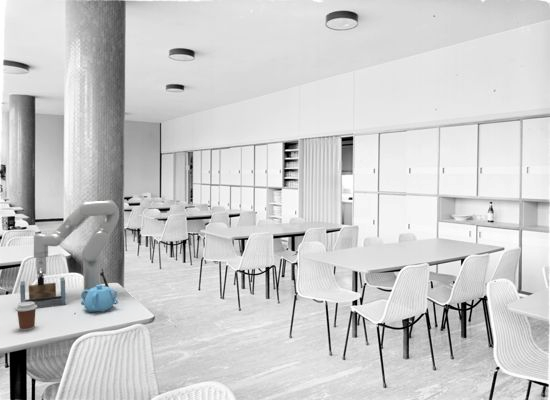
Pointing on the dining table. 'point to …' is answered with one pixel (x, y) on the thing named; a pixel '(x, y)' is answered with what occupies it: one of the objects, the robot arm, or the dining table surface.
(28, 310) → the coffee cup
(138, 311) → the dining table surface
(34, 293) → the brown rectangular block
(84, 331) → the dining table surface
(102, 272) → the phone stand
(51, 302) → the door track
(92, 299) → the decorative pot
